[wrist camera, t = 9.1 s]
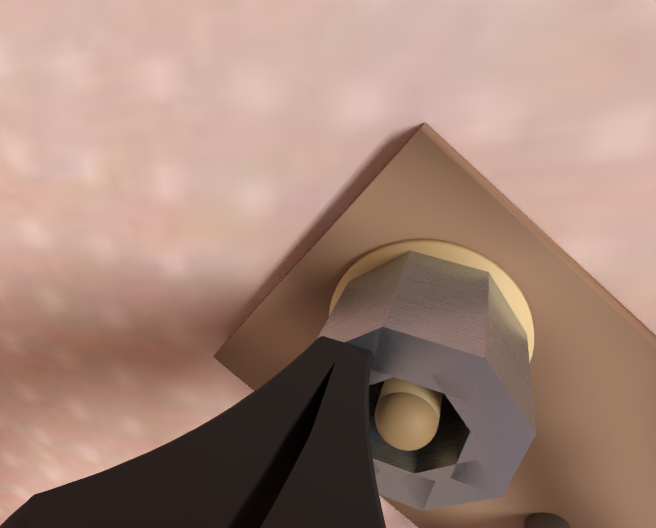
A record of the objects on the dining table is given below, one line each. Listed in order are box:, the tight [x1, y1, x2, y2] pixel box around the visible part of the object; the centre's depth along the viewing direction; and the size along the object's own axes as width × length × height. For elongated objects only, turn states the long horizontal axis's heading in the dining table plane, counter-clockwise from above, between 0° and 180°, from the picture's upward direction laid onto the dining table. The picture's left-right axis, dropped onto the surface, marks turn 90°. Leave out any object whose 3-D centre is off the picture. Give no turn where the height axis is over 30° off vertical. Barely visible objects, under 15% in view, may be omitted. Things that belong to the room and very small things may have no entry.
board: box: [214, 122, 656, 528], centre depth 15 cm, size 12×18×6 cm, turn 52°
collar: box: [318, 250, 536, 511], centre depth 13 cm, size 6×6×4 cm
